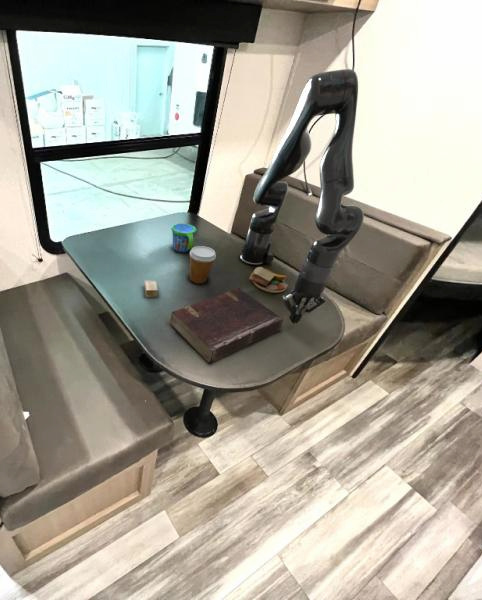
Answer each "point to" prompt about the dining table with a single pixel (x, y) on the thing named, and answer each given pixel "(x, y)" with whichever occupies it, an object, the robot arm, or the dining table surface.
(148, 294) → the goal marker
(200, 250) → the disposable coffee cup
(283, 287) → the toy sandwich meal
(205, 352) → the hardback book
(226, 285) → the dining table surface
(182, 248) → the snack cup
